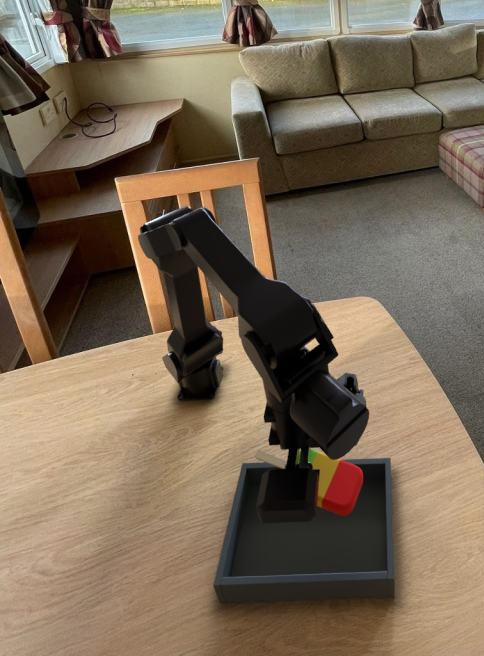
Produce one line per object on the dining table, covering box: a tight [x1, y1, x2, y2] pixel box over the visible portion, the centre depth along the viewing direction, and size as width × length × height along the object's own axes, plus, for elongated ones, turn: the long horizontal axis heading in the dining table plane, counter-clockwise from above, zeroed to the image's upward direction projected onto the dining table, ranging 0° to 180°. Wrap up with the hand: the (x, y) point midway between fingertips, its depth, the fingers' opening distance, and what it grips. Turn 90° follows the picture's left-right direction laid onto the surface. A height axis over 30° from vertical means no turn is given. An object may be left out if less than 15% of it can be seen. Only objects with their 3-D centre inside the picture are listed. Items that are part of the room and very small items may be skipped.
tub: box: [213, 457, 396, 605], centre depth 65 cm, size 22×14×5 cm, turn 91°
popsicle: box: [254, 448, 363, 516], centre depth 63 cm, size 6×15×2 cm, turn 70°
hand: (304, 472), depth 63 cm, fingers closed on popsicle, 6 cm apart
